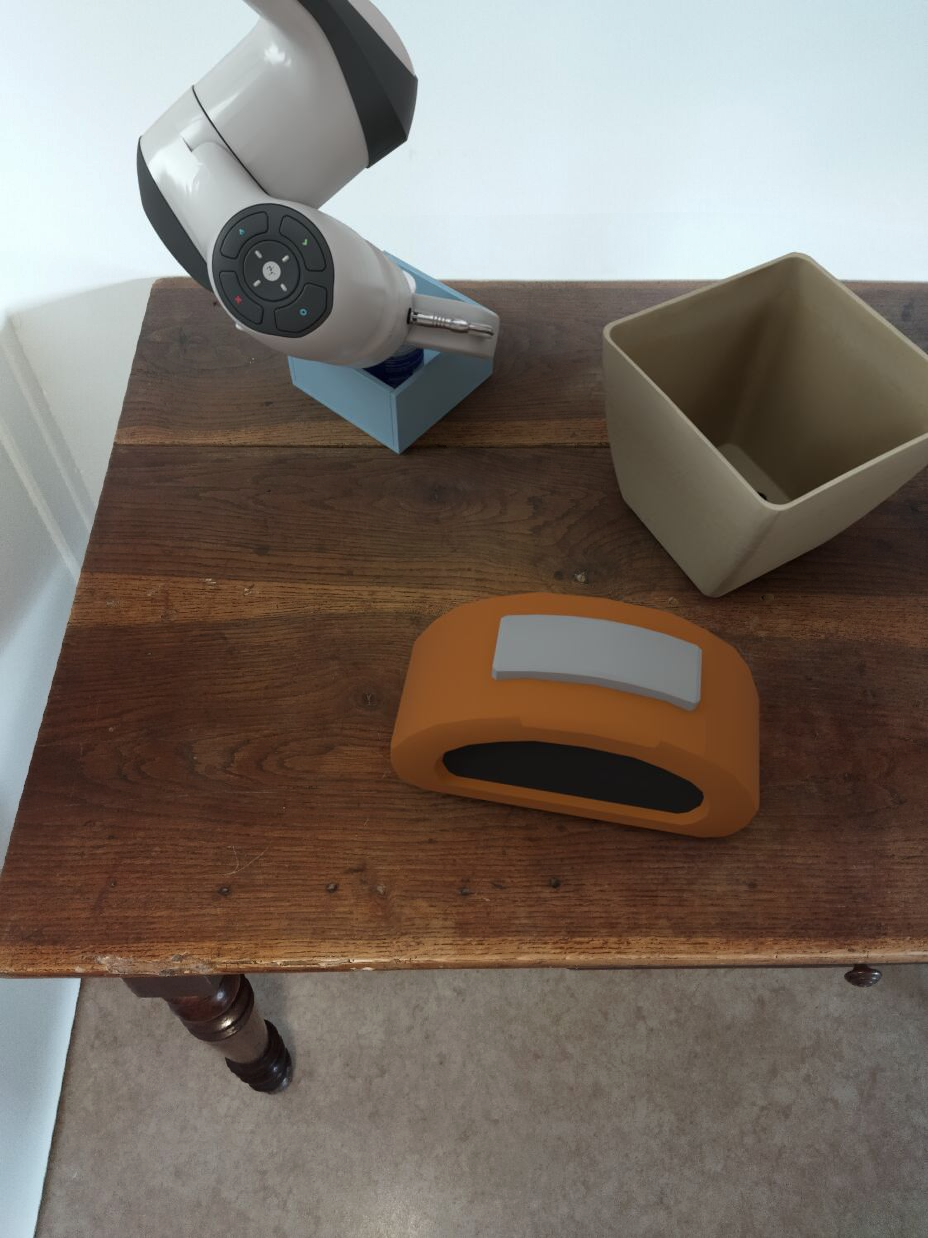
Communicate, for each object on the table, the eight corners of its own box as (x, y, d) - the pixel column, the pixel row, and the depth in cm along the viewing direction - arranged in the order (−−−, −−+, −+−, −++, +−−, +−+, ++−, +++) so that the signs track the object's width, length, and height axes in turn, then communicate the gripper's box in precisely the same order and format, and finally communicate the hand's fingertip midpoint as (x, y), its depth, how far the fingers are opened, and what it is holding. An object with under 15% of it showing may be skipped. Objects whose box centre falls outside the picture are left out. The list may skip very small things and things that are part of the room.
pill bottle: (354, 362, 83) (344, 271, 74) (411, 347, 84) (407, 255, 76) (375, 404, 80) (368, 314, 71) (433, 387, 81) (433, 297, 73)
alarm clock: (391, 792, 62) (376, 683, 47) (417, 680, 66) (410, 549, 52) (729, 851, 60) (819, 756, 46) (731, 731, 65) (814, 610, 50)
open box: (292, 384, 82) (280, 323, 76) (388, 311, 87) (384, 249, 81) (399, 454, 78) (395, 396, 72) (492, 373, 83) (496, 313, 77)
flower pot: (738, 405, 82) (802, 244, 67) (885, 552, 73) (993, 404, 59) (567, 483, 76) (596, 327, 62) (703, 650, 68) (773, 515, 54)
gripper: (496, 283, 63) (515, 306, 76) (224, 236, 65) (289, 267, 78) (480, 374, 64) (501, 381, 77) (215, 325, 66) (280, 340, 80)
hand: (393, 323), depth 78 cm, fingers closed on pill bottle, 6 cm apart
